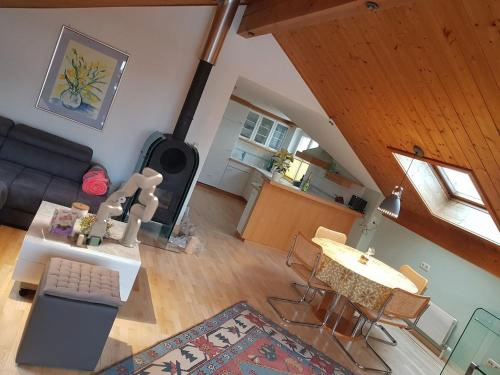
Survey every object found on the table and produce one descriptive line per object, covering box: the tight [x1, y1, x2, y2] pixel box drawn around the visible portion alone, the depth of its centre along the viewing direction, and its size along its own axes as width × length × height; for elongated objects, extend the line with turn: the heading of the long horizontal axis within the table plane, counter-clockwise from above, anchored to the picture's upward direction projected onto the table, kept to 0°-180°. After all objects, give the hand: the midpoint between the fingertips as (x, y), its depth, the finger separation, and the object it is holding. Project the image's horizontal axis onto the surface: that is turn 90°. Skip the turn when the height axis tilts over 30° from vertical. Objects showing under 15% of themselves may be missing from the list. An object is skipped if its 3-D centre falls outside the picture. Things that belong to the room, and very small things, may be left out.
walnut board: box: [66, 231, 89, 249], centre depth 260 cm, size 11×18×5 cm, turn 35°
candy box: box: [47, 207, 78, 236], centre depth 263 cm, size 14×6×16 cm, turn 131°
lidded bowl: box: [70, 202, 90, 219], centre depth 305 cm, size 13×13×11 cm
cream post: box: [76, 233, 85, 246], centre depth 256 cm, size 3×3×7 cm
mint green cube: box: [87, 236, 100, 247], centre depth 265 cm, size 5×5×7 cm
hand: (92, 243), depth 265 cm, fingers open, 7 cm apart
